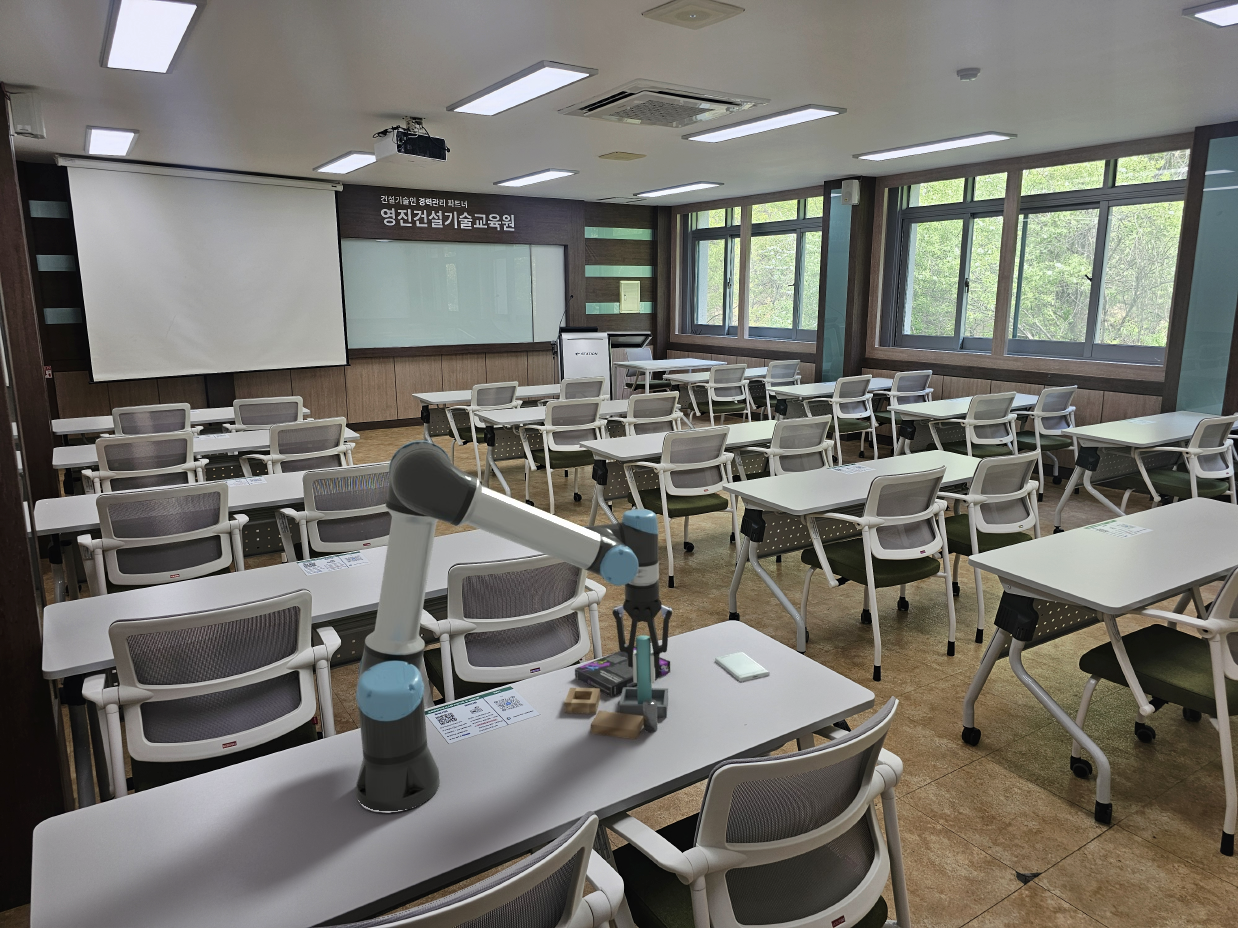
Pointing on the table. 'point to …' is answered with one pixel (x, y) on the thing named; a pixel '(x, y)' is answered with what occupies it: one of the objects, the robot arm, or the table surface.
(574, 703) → the socket block
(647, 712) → the bench dog
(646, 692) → the dowel
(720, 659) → the hard drive
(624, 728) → the tan block
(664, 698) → the tray
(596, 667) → the box
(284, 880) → the table surface
